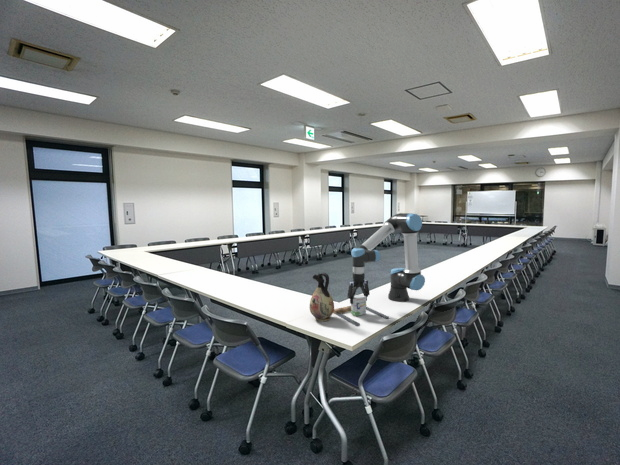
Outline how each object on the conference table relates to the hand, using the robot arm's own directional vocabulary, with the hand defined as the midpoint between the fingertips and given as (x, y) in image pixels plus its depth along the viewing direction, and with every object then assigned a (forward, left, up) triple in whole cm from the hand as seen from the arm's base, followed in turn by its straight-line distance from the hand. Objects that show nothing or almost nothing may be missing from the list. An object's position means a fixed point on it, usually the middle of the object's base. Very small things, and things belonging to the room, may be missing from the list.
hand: (358, 307), depth 192 cm
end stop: (0, -9, -5) cm, 10 cm away
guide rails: (0, +3, -5) cm, 6 cm away
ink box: (0, 0, -5) cm, 5 cm away
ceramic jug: (+24, -5, -5) cm, 25 cm away
